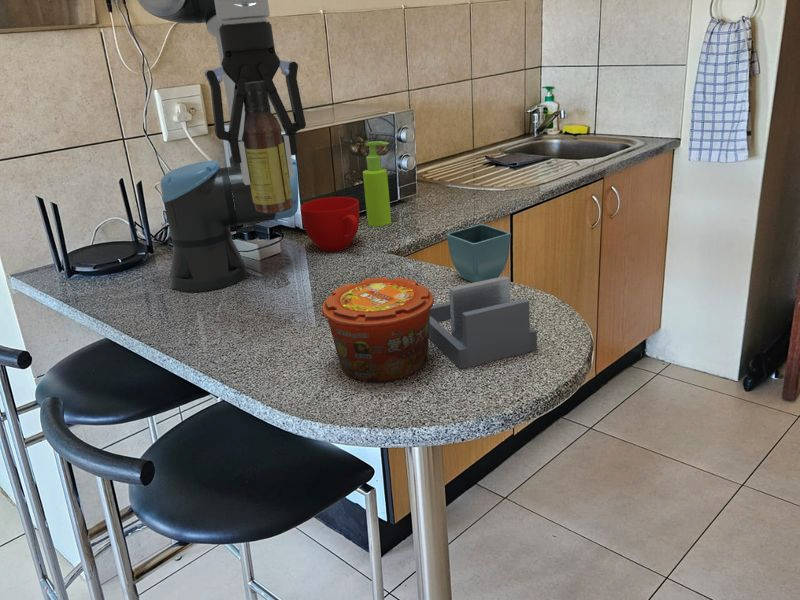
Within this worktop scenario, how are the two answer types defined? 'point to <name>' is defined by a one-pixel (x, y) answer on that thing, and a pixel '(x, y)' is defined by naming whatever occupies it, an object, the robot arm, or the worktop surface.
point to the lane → (485, 333)
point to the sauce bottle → (265, 152)
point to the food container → (380, 328)
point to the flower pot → (479, 252)
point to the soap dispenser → (376, 188)
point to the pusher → (476, 299)
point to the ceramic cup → (331, 221)
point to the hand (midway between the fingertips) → (268, 179)
